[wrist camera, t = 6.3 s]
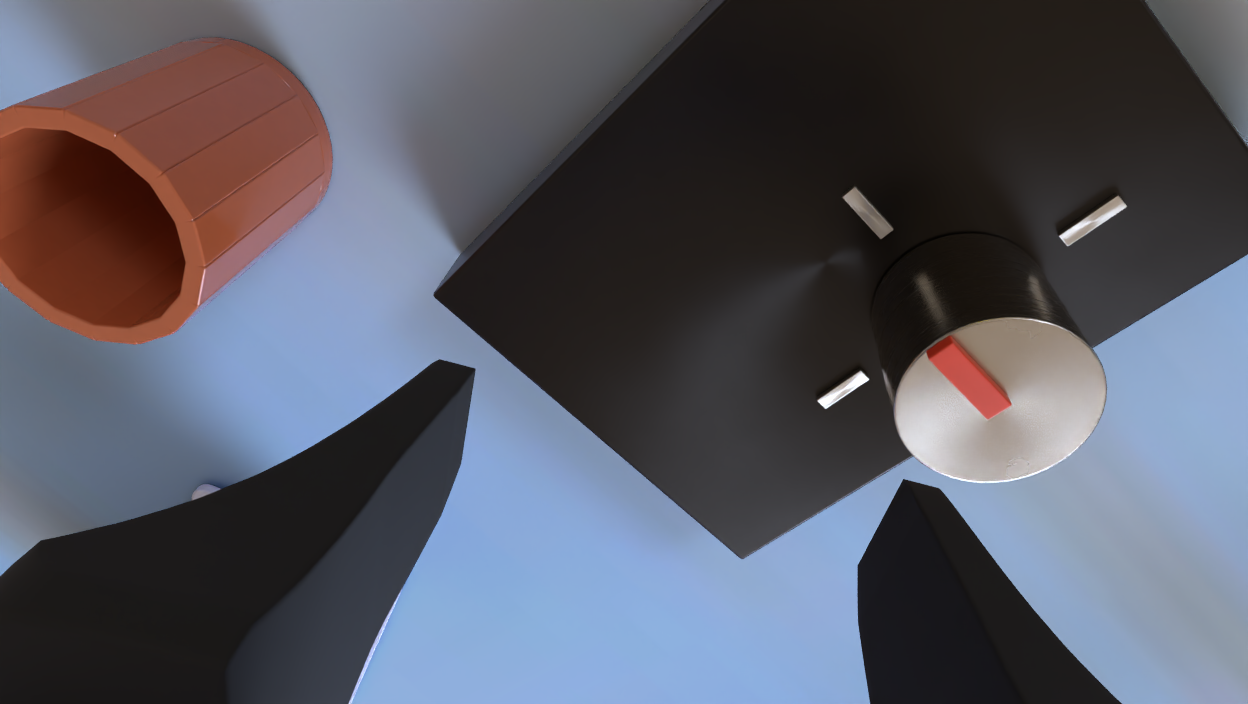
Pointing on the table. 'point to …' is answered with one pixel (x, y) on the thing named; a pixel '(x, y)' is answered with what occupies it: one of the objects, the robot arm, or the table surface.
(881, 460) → the warming plate
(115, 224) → the orange stave barrel
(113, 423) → the table surface
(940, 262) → the dial
